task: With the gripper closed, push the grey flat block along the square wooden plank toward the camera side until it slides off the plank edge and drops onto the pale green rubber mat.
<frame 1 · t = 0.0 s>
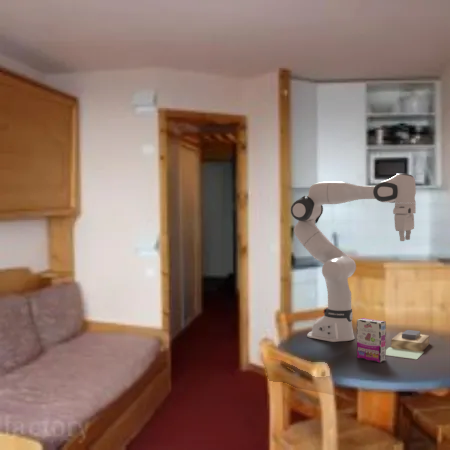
hand: (405, 240, 248), 48 cm above the table, fingers open, 8 cm apart
grey flat block: (411, 336, 251), point 4 cm above the table, touching square wooden plank
mat: (402, 353, 238), on the table
square wooden plank: (410, 346, 250), on the table
candy bar box: (371, 359, 230), on the table
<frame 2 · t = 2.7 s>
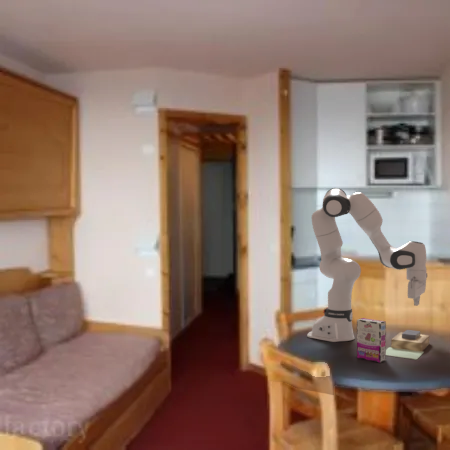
hand: (416, 305, 259), 17 cm above the table, fingers closed
nothing on the table moved.
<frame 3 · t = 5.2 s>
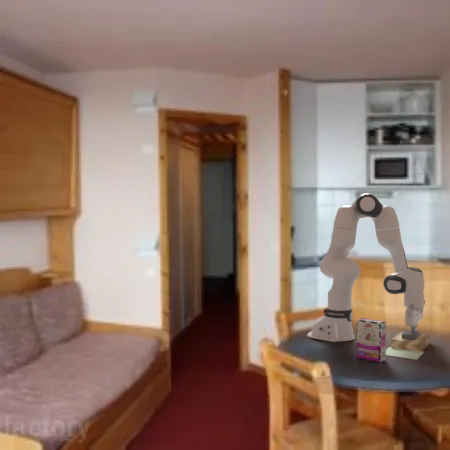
hand: (413, 332, 256), 5 cm above the table, fingers closed
grey flat block: (410, 337, 251), point 4 cm above the table, touching square wooden plank, gripper
everything else where it was.
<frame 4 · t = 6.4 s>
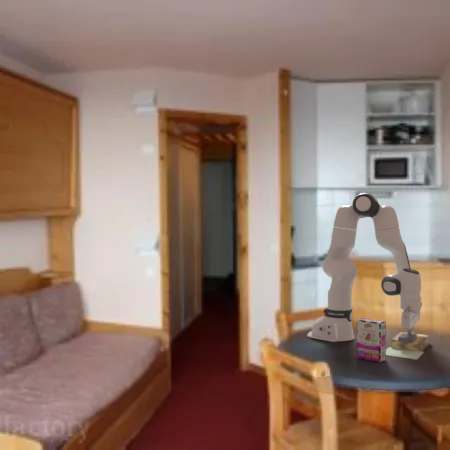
hand: (410, 335, 250), 5 cm above the table, fingers closed
grey flat block: (407, 340, 245), point 4 cm above the table, touching square wooden plank, gripper
everything else where it was.
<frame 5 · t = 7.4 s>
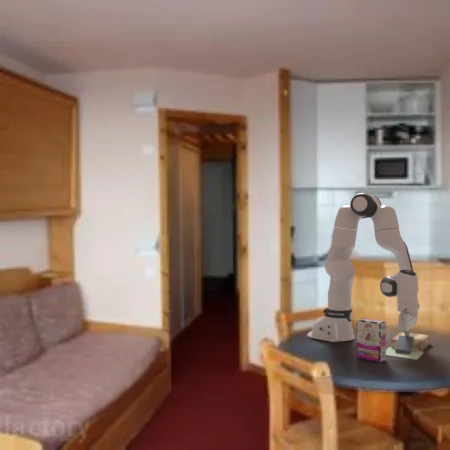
hand: (407, 338, 245), 5 cm above the table, fingers closed
grey flat block: (404, 346, 241), point 2 cm above the table, tilted 28°, touching gripper
everything else where it was.
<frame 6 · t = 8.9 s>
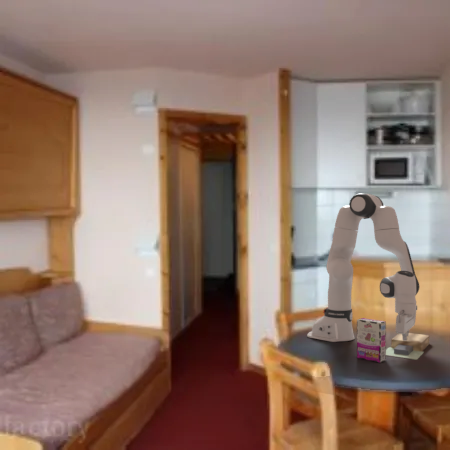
hand: (405, 339, 242), 5 cm above the table, fingers closed
grey flat block: (403, 351, 240), resting on mat
everything else where it was.
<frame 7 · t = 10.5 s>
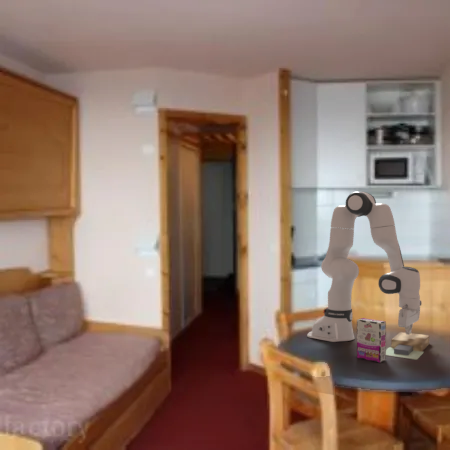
hand: (408, 333, 248), 6 cm above the table, fingers closed
nothing on the table moved.
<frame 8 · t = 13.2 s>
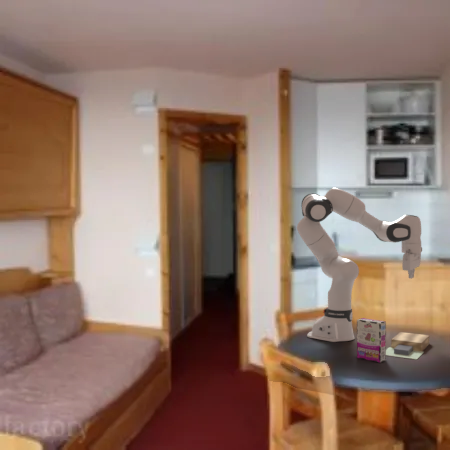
hand: (411, 278, 262), 29 cm above the table, fingers closed
nothing on the table moved.
at the end: grey flat block resting on mat; grey flat block inside the target area on the mat (2.0 cm from its centre), point 0.3 cm above the mat's base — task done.
